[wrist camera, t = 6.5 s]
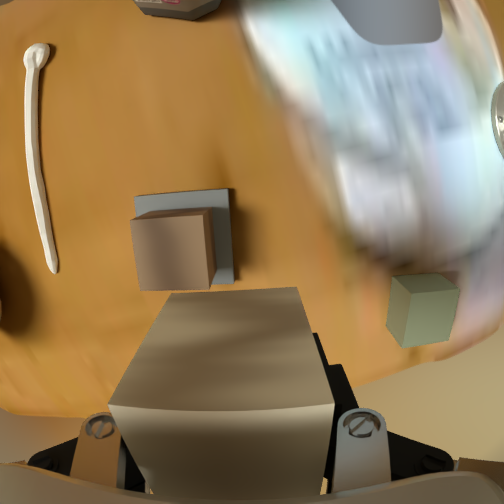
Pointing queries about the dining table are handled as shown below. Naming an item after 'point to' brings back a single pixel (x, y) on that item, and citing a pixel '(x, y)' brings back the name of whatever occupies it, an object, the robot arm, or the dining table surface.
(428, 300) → the olive block
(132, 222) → the walnut block
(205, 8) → the liquor
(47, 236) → the knobbed tapering rod
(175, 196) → the slate board
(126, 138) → the dining table surface
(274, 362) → the birch block
